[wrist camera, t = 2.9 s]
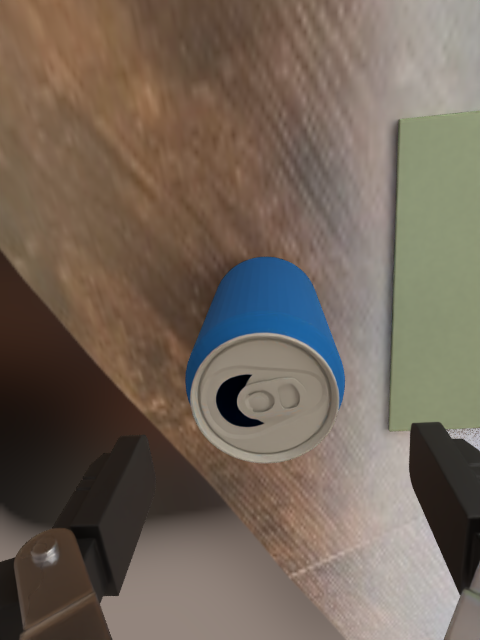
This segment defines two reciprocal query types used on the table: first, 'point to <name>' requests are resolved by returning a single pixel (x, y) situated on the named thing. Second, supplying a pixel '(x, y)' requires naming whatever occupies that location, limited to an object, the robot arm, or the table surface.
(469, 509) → the robot arm
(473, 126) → the desk mat
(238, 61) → the table surface
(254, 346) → the beverage can
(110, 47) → the table surface
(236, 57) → the table surface
